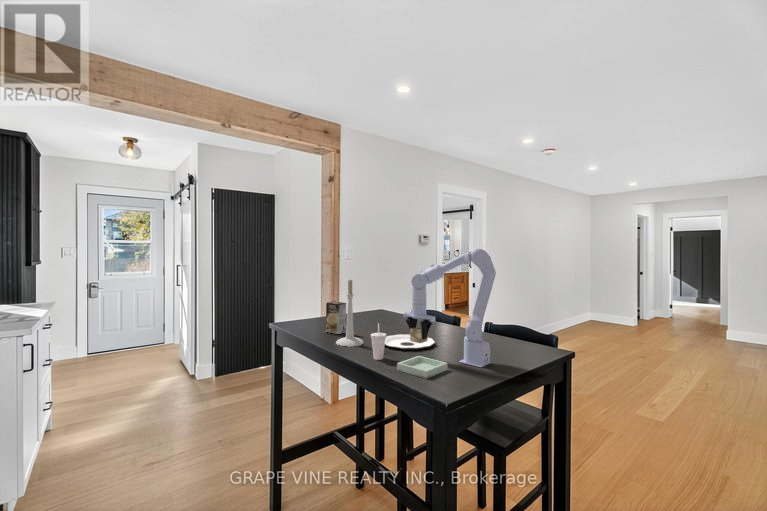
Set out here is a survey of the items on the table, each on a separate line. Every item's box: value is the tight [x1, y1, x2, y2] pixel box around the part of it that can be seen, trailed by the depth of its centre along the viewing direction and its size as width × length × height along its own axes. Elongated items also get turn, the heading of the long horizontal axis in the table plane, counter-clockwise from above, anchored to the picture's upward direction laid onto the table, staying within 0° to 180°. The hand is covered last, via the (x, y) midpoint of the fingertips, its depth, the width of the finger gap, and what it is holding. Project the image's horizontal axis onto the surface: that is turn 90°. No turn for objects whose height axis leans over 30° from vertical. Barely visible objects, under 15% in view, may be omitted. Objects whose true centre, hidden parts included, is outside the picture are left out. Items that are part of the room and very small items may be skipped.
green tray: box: [396, 355, 449, 380], centre depth 128 cm, size 13×13×2 cm
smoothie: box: [370, 322, 387, 361], centre depth 142 cm, size 6×6×14 cm
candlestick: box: [335, 279, 364, 348], centre depth 165 cm, size 13×13×30 cm
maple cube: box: [409, 326, 429, 343], centre depth 142 cm, size 5×5×5 cm
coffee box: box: [325, 301, 347, 335], centre depth 186 cm, size 9×6×16 cm
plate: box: [385, 333, 436, 351], centre depth 165 cm, size 25×25×2 cm
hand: (418, 337), depth 142 cm, fingers closed on maple cube, 5 cm apart
